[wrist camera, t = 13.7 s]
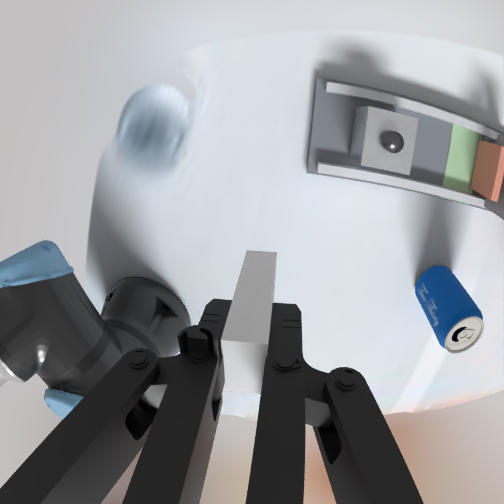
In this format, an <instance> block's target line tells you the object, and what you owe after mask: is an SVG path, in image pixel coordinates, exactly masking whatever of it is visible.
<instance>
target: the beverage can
mask: <svg viewBox="0 0 504 504" xmlns="http://www.w3.org/2000/svg"><path fill="white" fill-rule="evenodd" d="M415 293H416V297H417V299H418V300H419V302H420V304H421V306H422V308H423V310H424V312H425V314H426V316H427V318H428V320H429V322H430V324H431V326H432V328H433V331H434V333H435V335H436V337H437V339H438V341H439V343H440V345H441V346H442V347H443V348H445V349H446V350H447V351H448V352H450V353H460V352H463V351H465V350H467V349H469V348H470V347H472V346H473V345H474V344H475V343H476V342H477V341H478V340H479V338H480V337H481V335H482V333H483V330H484V323H483V317H482V313H481V311H480V310H479V308H478V307H477V305H476V304H475V303H474V301H473V300H472V298H471V297H470V296H469V294H468V293H467V291H466V290H465V289H464V287H463V286H462V285H461V283H460V282H459V281H458V279H457V278H456V277H455V275H454V274H453V273H452V272H451V270H450V269H449V268H447V267H446V266H442V265H437V266H433V267H431V268H429V269H427V270H426V271H425V272H424V273H423V274H422V275H421V276H420V277H419V279H418V281H417V283H416V287H415Z"/></svg>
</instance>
